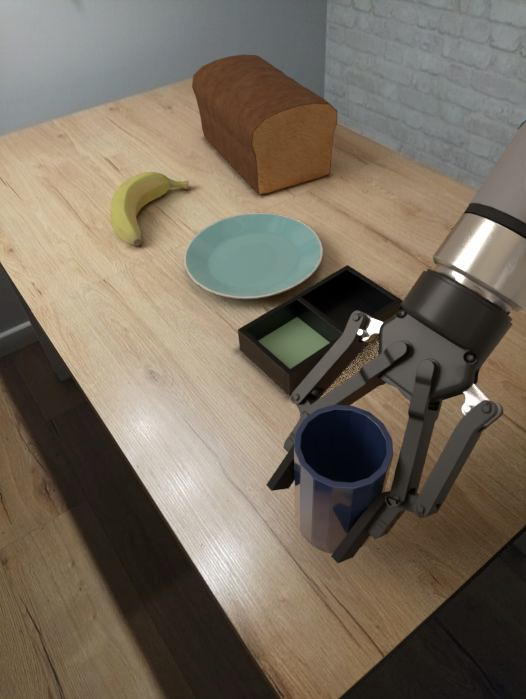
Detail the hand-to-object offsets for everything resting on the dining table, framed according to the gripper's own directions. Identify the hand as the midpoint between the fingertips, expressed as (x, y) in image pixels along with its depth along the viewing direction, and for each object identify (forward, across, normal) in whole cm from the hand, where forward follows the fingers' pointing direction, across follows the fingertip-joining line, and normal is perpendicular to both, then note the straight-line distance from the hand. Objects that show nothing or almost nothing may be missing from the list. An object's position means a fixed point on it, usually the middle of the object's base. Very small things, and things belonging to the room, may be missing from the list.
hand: (308, 519), depth 44 cm
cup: (0, 0, -5) cm, 5 cm away
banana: (-9, +66, -22) cm, 70 cm away
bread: (-29, +69, -42) cm, 86 cm away
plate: (-11, +41, -25) cm, 50 cm away
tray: (-9, +22, -23) cm, 33 cm away
